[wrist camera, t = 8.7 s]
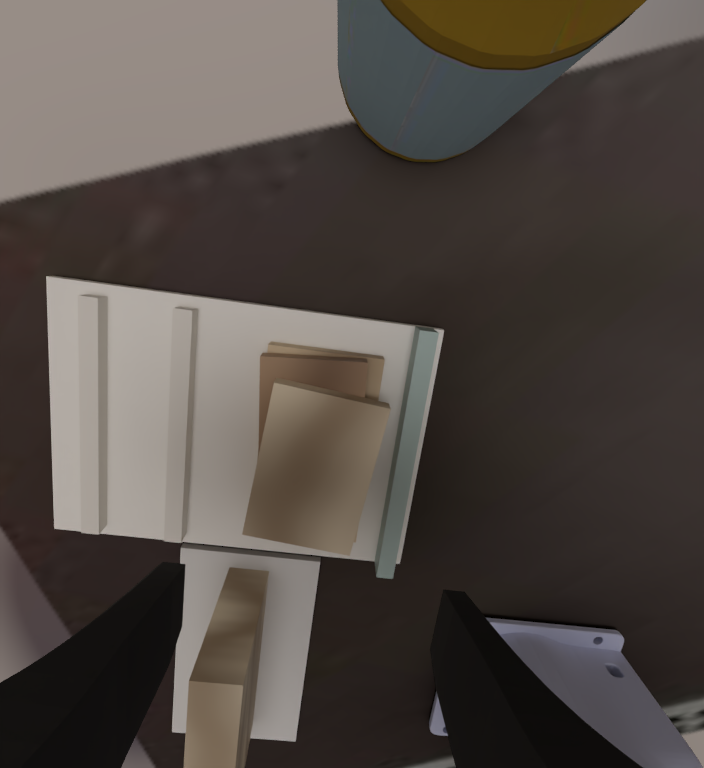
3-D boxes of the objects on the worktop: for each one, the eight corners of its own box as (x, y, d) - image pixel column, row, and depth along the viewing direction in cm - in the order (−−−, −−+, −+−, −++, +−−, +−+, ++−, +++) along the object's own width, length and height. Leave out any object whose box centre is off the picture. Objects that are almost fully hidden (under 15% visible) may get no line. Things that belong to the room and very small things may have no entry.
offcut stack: (391, 357, 20) (397, 369, 18) (362, 533, 23) (364, 564, 20) (266, 340, 20) (257, 351, 18) (250, 521, 22) (239, 552, 20)
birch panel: (269, 571, 23) (243, 685, 17) (252, 722, 26) (225, 870, 19) (229, 567, 23) (188, 681, 17) (217, 719, 26) (177, 868, 19)
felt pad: (320, 557, 24) (320, 562, 23) (296, 734, 27) (295, 741, 26) (183, 543, 23) (180, 547, 23) (174, 725, 26) (171, 732, 26)
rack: (441, 328, 21) (450, 334, 19) (398, 556, 24) (403, 579, 22) (54, 275, 20) (27, 277, 18) (61, 521, 23) (38, 543, 21)
